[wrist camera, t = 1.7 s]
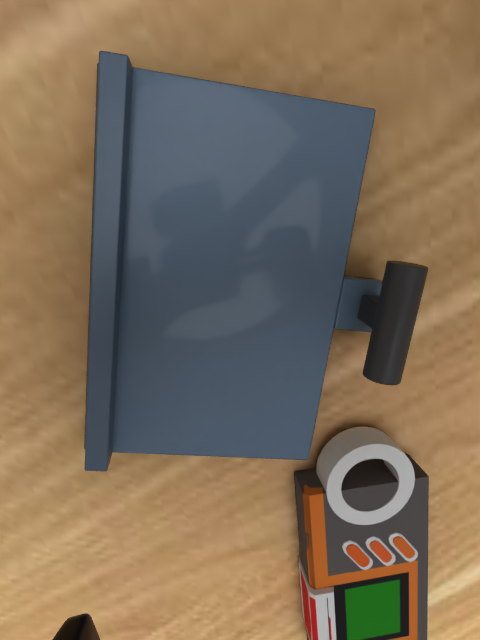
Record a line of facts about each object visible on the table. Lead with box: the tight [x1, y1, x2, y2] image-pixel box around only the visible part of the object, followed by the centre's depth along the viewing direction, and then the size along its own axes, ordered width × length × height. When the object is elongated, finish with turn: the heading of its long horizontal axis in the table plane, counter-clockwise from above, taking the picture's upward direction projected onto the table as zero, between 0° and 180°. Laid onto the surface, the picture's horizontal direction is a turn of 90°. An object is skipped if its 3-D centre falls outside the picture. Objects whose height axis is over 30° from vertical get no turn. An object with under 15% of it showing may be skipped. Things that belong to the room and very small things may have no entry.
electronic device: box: [294, 427, 429, 640], centre depth 24 cm, size 7×3×15 cm
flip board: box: [84, 51, 428, 471], centre depth 18 cm, size 14×17×4 cm
